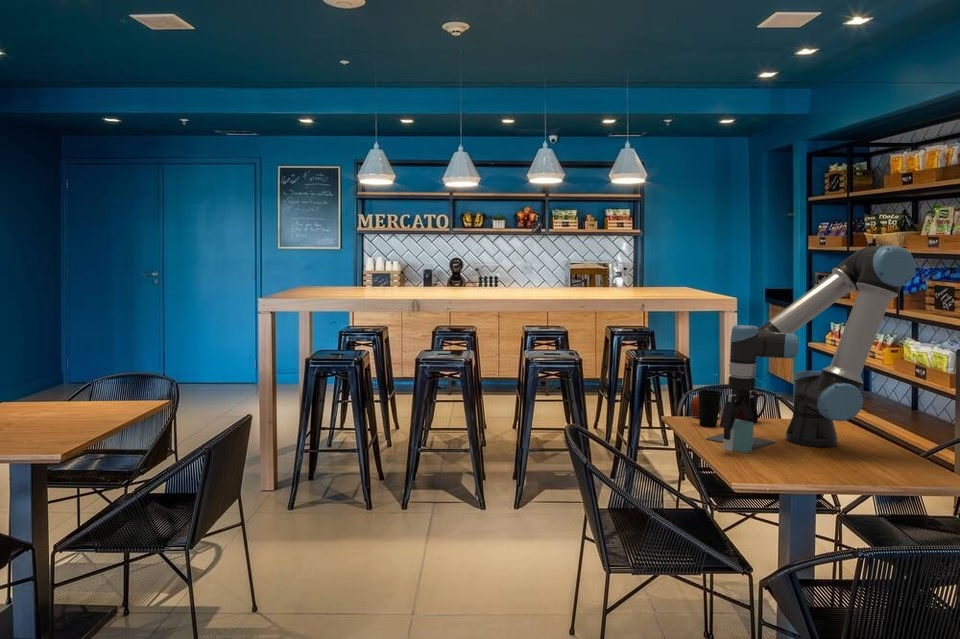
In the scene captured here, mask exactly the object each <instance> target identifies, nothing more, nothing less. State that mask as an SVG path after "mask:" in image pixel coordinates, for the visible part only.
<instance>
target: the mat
mask: <svg viewBox="0 0 960 639" xmlns="http://www.w3.org/2000/svg"><path fill="white" fill-rule="evenodd" d="M723 437H724V432H723V433H720V434H716V435H713V436H710V437H709V436H708V437H706V438H705V440H707V441H712V442H716V443H721V444H723ZM772 444H775V441H774V440H769V439H764V438H760V437H755V436H753V444H752V451H753V450H757V449H760V448H763V447H765V446H768V445H772Z"/></svg>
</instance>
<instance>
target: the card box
mask: <svg viewBox="0 0 960 639" xmlns="http://www.w3.org/2000/svg"><path fill="white" fill-rule="evenodd" d="M732 429H734V432H733V450H732V452H733V451H735V452H739V453H743V454H748V453H751V452H752V451H753V449H752V437H754V430H753V422H750V421H744V420H739V419H735V422H734V424H733V427H732Z"/></svg>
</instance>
